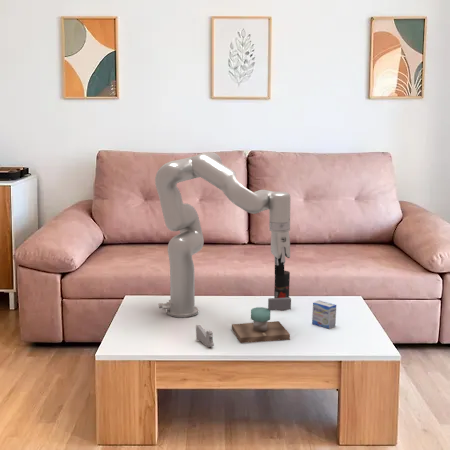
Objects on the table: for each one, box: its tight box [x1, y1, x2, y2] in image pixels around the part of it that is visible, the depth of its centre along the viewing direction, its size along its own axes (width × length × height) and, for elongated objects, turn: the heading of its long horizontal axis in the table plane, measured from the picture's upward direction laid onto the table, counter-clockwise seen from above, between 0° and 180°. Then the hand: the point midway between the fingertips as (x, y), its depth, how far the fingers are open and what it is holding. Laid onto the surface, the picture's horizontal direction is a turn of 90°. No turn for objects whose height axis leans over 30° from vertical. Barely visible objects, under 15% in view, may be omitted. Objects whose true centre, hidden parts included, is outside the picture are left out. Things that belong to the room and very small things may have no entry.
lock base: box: [231, 320, 291, 344], centre depth 248 cm, size 18×14×6 cm
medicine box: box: [311, 300, 337, 330], centre depth 258 cm, size 8×4×9 cm, turn 47°
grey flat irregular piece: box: [195, 324, 215, 348], centre depth 239 cm, size 6×1×10 cm
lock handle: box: [250, 296, 292, 322], centre depth 248 cm, size 14×7×7 cm, turn 102°
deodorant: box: [273, 270, 291, 312], centre depth 277 cm, size 6×6×15 cm
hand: (279, 275), depth 252 cm, fingers closed
